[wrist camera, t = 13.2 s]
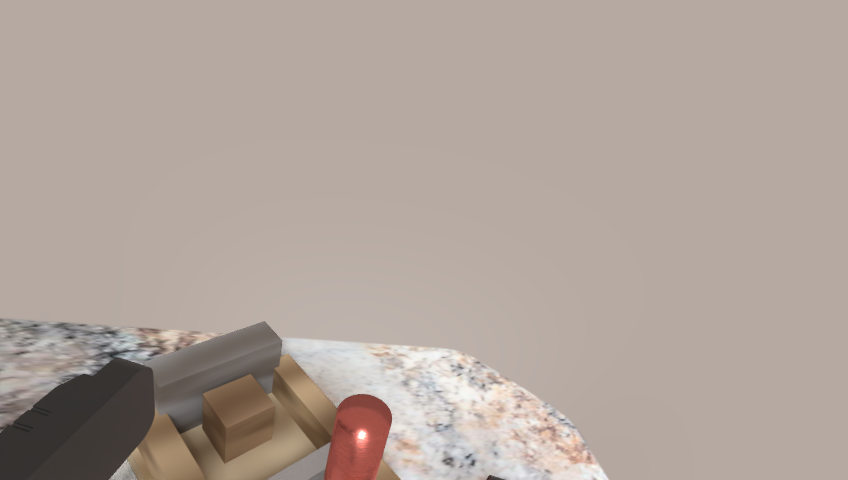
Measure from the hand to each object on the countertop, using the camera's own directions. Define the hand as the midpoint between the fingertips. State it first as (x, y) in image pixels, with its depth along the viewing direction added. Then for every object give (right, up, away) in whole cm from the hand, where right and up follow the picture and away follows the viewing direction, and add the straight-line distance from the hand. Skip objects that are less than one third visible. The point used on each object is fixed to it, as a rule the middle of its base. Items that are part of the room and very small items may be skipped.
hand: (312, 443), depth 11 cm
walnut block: (-13, -11, +29) cm, 33 cm away
